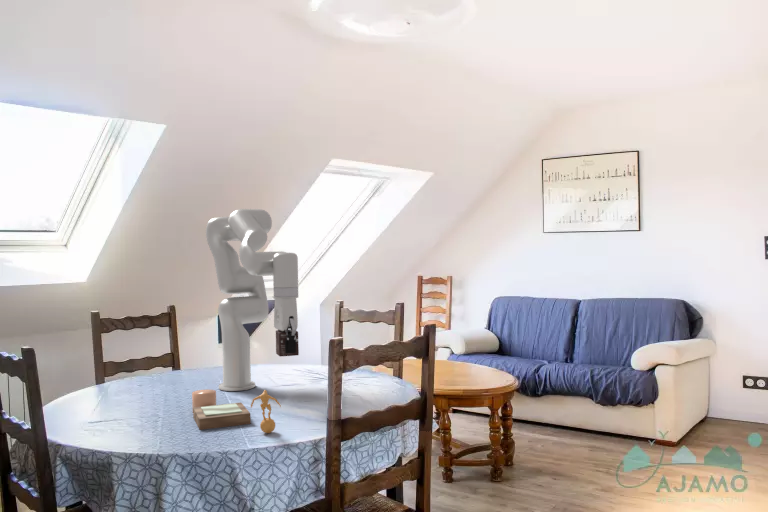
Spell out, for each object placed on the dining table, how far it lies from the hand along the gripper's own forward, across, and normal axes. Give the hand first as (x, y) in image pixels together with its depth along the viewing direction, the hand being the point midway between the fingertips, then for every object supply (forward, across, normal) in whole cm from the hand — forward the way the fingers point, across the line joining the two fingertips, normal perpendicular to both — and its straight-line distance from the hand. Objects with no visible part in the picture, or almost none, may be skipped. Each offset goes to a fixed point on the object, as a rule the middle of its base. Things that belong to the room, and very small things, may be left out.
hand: (287, 350), depth 212 cm
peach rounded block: (+18, -7, -24) cm, 31 cm away
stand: (+17, +6, -22) cm, 28 cm away
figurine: (+17, +25, -14) cm, 34 cm away
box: (+1, 0, 0) cm, 1 cm away
